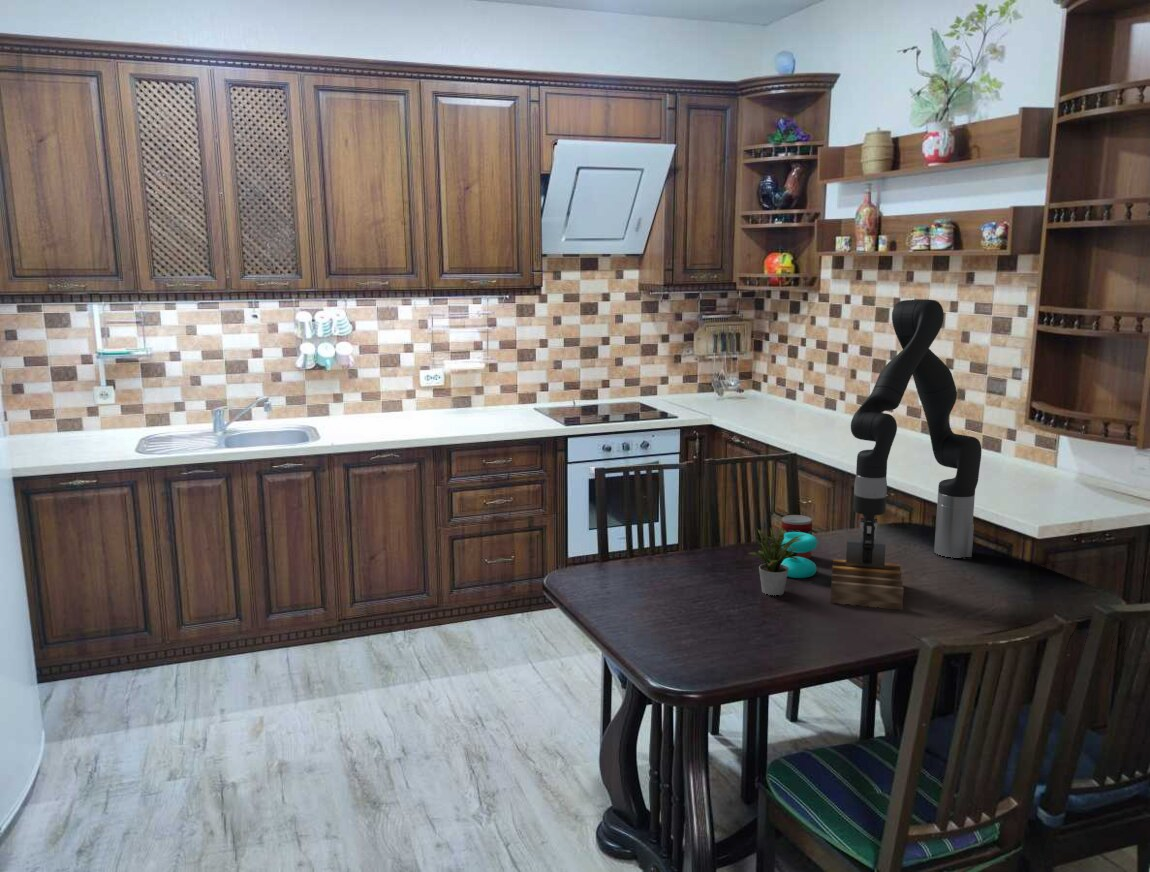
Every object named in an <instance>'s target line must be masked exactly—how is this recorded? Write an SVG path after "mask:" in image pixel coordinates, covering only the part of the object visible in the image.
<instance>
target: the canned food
mask: <svg viewBox="0 0 1150 872" xmlns="http://www.w3.org/2000/svg"><path fill="white" fill-rule="evenodd" d="M782 527H783V531H784V530H785V533H787V532H803V533H808V534H811V535H813V531H812V530H813V519H812V517H809V516H806V515H799V514H790V515H788V514H787V515H785V516H783V517H782V518H781V528H782ZM781 550H782V548H780V551H781ZM787 552H789V551H786V552H785V553H787ZM785 553H784V554H785ZM792 553H794V554H793V555H790V556H792V557H803V558H807V559H809V560H811V557H812V556H811V555H812V551H809V552H805V553H795V552H792ZM781 555H782V554H781Z"/></svg>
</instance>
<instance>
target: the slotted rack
mask: <svg viewBox="0 0 1150 872" xmlns="http://www.w3.org/2000/svg"><path fill="white" fill-rule="evenodd" d="M831 570H832V573H831V582H830V583H831V586H830V604H834V603H839V604H838V605H845V604H851V605H850V606H856V605H861V606H860V607H866V606H869V607H868V608H877V607H879V608H878V609H889V610H898V609H900V611H902V610H903V604H904V603H903V602H904V590H905V589H904V587H903V579H902V571H901V564H898V563H887V562H886V563H885V564H884V570H880V569H868V568H856V567H846V559H839V558H836V559H835V558H833V559H832V569H831Z"/></svg>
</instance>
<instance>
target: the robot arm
mask: <svg viewBox="0 0 1150 872" xmlns="http://www.w3.org/2000/svg"><path fill="white" fill-rule="evenodd" d="M891 311H892V312H891V320H892V321H891V322H892V327H893V329H894V332H895V335H896V337H897V339H898V342H899V344H900V346H901V349H902V350H901V351H900V352H899V353H897V354H896V355H895V356H893V358H892V359H891V360H890V361H888V362H887V363H886V365H885V366H884V367H883V369H882V370H881V372H880V373H879V375H878V377H877V380H876V382H875V384H874V386H873V389H872V392H871V393H870V395H869V396H868V397H867V398H866V399H865V400H864V402H863V403H862V404H861V405H860V406H859V408H857V410H856V411H855V412H854V415H853V416H852V419H851V422H850V432H851V434H852V435H853V438H856V439H857V440H862V441H869V442H875V444H874V446H873V448H872V449H863V450H861V451H859V452H858V453H857V455H856V471H855V472H856V473H855V480H854V487H853V489H854V490H853V491H854V492H853V508H852V509H853V511H854V513H857V514H860V515H862V516H863V517H860V520H859V521H860V522H859V523H860V525H859V527H860V540H863V545H862V547H863V559H862V562H863V563H864V564H871V563H872V551H873V548H874V541H876V539H877V530H878V518H875V517H876V516H882V515H884V514H885V513H886V510H887V509H886V508H887V495H888V494H887V491H888V482H887V473H888V460H889V456H890V453H891V449H892V445H893V443H894V441H895V439H896V435H897V432H898V424H897V421H896V419H895V417H894V415H892V414H890V413H886V412H887V411H893V410H897V408H898V407H899V406H900V404H901V402H902V399H903V397H904V394H905V392H906V389H907V387H908V385H909V383H910V380H911V378H913V382H914V385H915V389H916V392H917V395H918V398H919V401H920V403H921V406H922V411H923V413H924V416H925V421H926V424H927V426H928V431H929V437H930V443H931V448H932V452H933V456H934V458H935V460H936V462H937V463H938V464H939V465H940V466H943V467H946V468H952V469H956V474H955V476H954V477H953V478H947V479H943V480H941V481H940V482H938V489H937V490H938V491H937V504H936V517H935V519H936V520H935V535H934V546H933V547H934V548H933V549H934V551H933V552H934V553H936V554H935V555H937V554H938V555H937V556H939V555H941V556H940V557H942V556H945V557H944V558H946V557H951V558H950V559H953V558H961V557H972V556H973V555H972V554H973V542H974V532H975V529H974V527H975V524H974V511H975V509H974V508H975V499H976V497H975V496H976V489H977V485H978V483H979V476H980V470H981V469H980V468H981V467H980V466H981V459H982V451H983V450H982V444H981V442H980V440H979V439H978V437H975V436H971V435H964V434H958V433H954V431H953V430H952V428H951V425H950V419H949V418H950V415H951V412H952V410H953V409H954V406H955V405H956V402H957V399H958V398H957V397H958V391H957V387H956V382H955V380H954V377H953V376H954V375H953V374H952V371H951V370H950V369H949V367H948V366H947V364H946V363H945V362H944V361H943V360H942V359H941V358H940V357H938V356H937V354H936V353H934V352H933V351H932V349H930V347H931V346H932V344H933V342H934V341H935V339H936V338H937V336H938V335H939V333H940V331H941V329H942V326H943V323H944V317H945V313H944V309H943V306H942V304H941V303H940V302H939V301H938V300H935V299H906V300H899V301H898V302H897V303H895V304H894V306H893V308H892V310H891ZM865 540H870V541H871V544H866V543H865ZM952 557H953V558H952Z"/></svg>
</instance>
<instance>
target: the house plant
mask: <svg viewBox="0 0 1150 872" xmlns="http://www.w3.org/2000/svg"><path fill="white" fill-rule="evenodd" d="M756 530H757V531H758V534H759V537H760V539H761V542H760V541H759V540H758V539H757V538H755V537H753V536H751V538H752V539H753V540H754V541H755V542H756V543H757V544H758V546H759V547H760V548H761V550H757V552H755V551H751V552H748V555H751V556H752V555H753V556H757V557H760V558H761V559H762V560H763V561H764V562H765V563H763V564H760V565H759V566H758V571H759V578H760V584H761V592H762V593H763V594H764V593H765V594H764V595H766V594H768V595H767V596H770V595H773V596H772V597H777V596H776V595H779V596H782V595H784V593H785V588H786V583H787V578H788V577H787V574H788V567H787V566H785V565H784V564H785V563H784V564H783V565H782V564H781V563H782V562H783V561H784V559H786V558H793V559H796V560H798V559H797V557H792V556H790V555H793V554H794V553H792V551H794V550H796V549H793V550H791V551H789V552H787V553H785V552H786V551H788V550H787V549H788V547H792V546H790V545H791V544H792V543H793V542H797V541H800V539H797V538H798V537H801V536H804V535H801V536H797V537H795V538H793V539H791V540H790V541H789V542H788V543H785V544H782V542H783V540H784V533H785V530H784V531H783V527H782V526H781V530H780V532H779V534H778V537H777V539H776V538H775V535H774V532H773V529H772V528H771V527H769V530H770V536H769V537H768V538H769V539H770V541H771V542H770V545H769V543H768V539H767V537H766V535H765V534H764V533H763V532H762V530H760V529H758V528H756ZM795 539H796V540H795ZM781 544H782V545H781ZM784 545H785V546H784ZM782 546H784V547H783V548H782V550H781V547H782ZM785 548H786V549H785ZM784 553H785V554H784ZM781 554H782V555H781ZM788 561H789V560H788ZM788 561H787V562H788ZM774 595H775V596H774Z"/></svg>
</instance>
